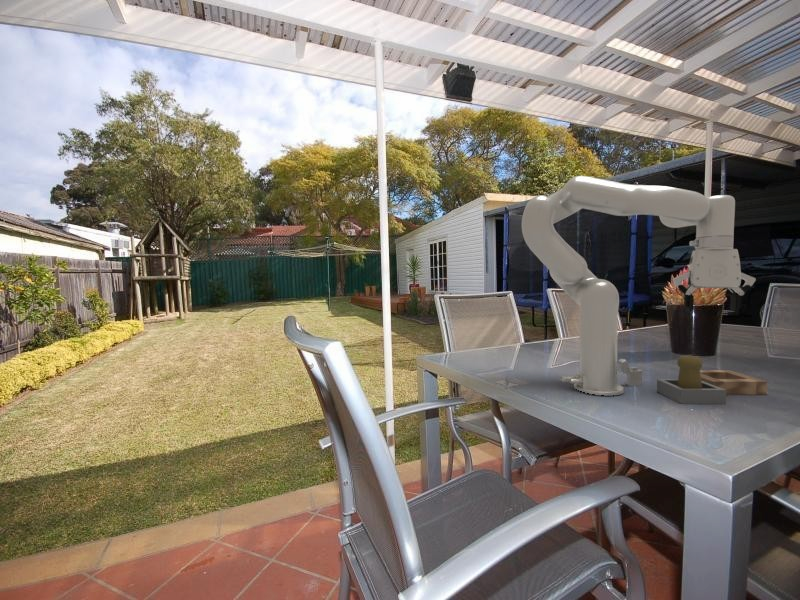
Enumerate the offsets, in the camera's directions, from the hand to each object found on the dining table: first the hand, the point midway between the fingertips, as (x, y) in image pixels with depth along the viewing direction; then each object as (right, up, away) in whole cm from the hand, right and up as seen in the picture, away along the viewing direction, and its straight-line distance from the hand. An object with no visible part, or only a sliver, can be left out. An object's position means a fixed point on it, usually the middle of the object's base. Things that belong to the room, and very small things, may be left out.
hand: (711, 310), depth 99 cm
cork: (-6, -23, 0) cm, 24 cm away
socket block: (+9, -22, +7) cm, 25 cm away
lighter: (-14, -23, +13) cm, 29 cm away
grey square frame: (-6, -23, 0) cm, 24 cm away
